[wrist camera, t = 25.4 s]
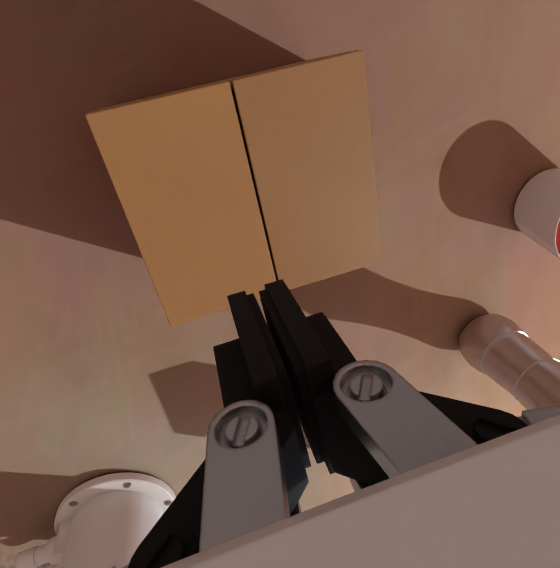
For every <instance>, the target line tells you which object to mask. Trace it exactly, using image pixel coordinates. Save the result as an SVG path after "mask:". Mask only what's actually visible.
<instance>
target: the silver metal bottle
mask: <svg viewBox="0 0 560 568" xmlns="http://www.w3.org/2000/svg"><path fill="white" fill-rule="evenodd" d="M459 345H460V352H461V354H462V355H463V357H464V358H465V359H466V361H467V362H468V363H469V364H470V365H471V366H472V367H474V368H475V369H477V370H478V371H479V372H481V373H483V374H485V375H487V376H488V377H490V378H491V379H492V380H494V381H495V382H496V383H498V384H499V385H500V386H502V387H503V388H504V389H505V390H507V391H508V392H509V393H511V394H512V395H513V396H514V397H515V398H516V399H517V400H518V401H519V402H520V403H521V404H522V405H523V406H524V407H525V408H526V409H527V410H531V409H538V408H545V407H552V406H559V405H560V361H559V360H557V359H555V358H554V357H552V356H551V355H550V354H548V353H547V352H546V351H545V350H544V349H542V348H541V347H540V346H539V345H538V344H536V343H535V342H534V341H533V340H532V339H531V338H529V337H528V335H527V334H526V333H525V332H524V331H523V330H522V329H521V328H520V327H519V326H518V325H517V324H516V323H515V322H514V321H512V320H510V319H508V318H506V317H503V316H501V315H498V314H488V315H482V316H479V317H477V318H475V319H474V320H472V321H471V322H470V323H469V324H468V325H467V326H466V327H465V328H464V330H463V331H462V333H461V336H460V340H459Z"/></svg>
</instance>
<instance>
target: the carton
mask: <svg viewBox="0 0 560 568" xmlns="http://www.w3.org/2000/svg"><path fill="white" fill-rule="evenodd" d="M227 81H229V83H230V87H231V91H232V96H233V100H234V104H235V108H236V113H237V117H238V121H239V125H240V130H241V134H242V138H243V142H244V147H245V151H246V155H247V159H248V164H249V168H250V172H251V176H252V181H253V185H254V189H255V193H256V198H257V202H258V206H259V210H260V215H261V219H262V223H263V227H264V232H265V236H266V240H267V244H268V249H269V253H270V257H271V261H272V266H273V270H274V274H275V278H276V281H278V280H281V279H283V281H284V282H285V284H286V285H287V287H288V289H289V290H291V289H294V288H297V287H301V286H304V285H307V284H310V283H314V282H317V281H320V280H323V279H327V278H330V277H333V276H336V275H340V274H343V273H346V272H349V271H353V270H356V269H359V268H362V267H366V266H369V265H372V264H375V263H379V262H382V254H381V242H380V231H379V219H378V208H377V196H376V185H375V173H374V162H373V150H372V139H371V128H370V116H369V105H368V93H367V82H366V70H365V59H364V50H360V51H359V50H354V51H349V52H345V53H340V54H335V55H330V56H325V57H320V58H315V59H310V60H305V61H301V62H297V63H292V64H288V65H284V66H280V67H275V68H271V69H267V70H262V71H258V72H254V73H249V74H245V75H241V76H236V77H232V78H228V79H224V80H219V81H215V82H211V83H206V84H202V85H198V86H193V87H189V88H185V89H181V90H176V91H172V92H168V93H163V94H159V95H155V96H150V97H146V98H142V99H137V100H133V101H129V102H125V103H120V104H116V105H112V106H108V107H105V108H101V109H98V110H95V111H91V112H88V113H86V114H90V113H94V112H98V111H103V110H107V109H111V108H116V107H120V106H124V105H128V104H133V103H137V102H141V101H146V100H150V99H154V98H158V97H163V96H167V95H171V94H176V93H180V92H184V91H188V90H193V89H197V88H201V87H206V86H210V85H214V84H218V83H223V82H227Z"/></svg>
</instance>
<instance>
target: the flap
mask: <svg viewBox="0 0 560 568" xmlns="http://www.w3.org/2000/svg"><path fill="white" fill-rule="evenodd" d="M85 116H86V119H87V121H88V124H89V126H90V129H91V131H92V134H93V136H94V139H95V141H96V144H97V146H98V148H99V151H100V153H101V156H102V158H103V161H104V163H105V166H106V168H107V171H108V173H109V176H110V178H111V181H112V183H113V185H114V188H115V190H116V193H117V195H118V198H119V200H120V203H121V205H122V208H123V210H124V213H125V215H126V218H127V220H128V222H129V225H130V227H131V230H132V232H133V235H134V237H135V240H136V242H137V245H138V247H139V250H140V252H141V254H142V257H143V259H144V262H145V264H146V267H147V269H148V272H149V274H150V277H151V279H152V282H153V284H154V287H155V289H156V291H157V294H158V296H159V299H160V301H161V304H162V306H163V309H164V311H165V314H166V316H167V319H168V321H169V323H170V326H174V325H177V324H181V323H184V322H187V321H190V320H193V319H197V318H200V317H203V316H206V315H209V314H213V313H216V312H219V311H222V310H225V309H229V308H230V305H229V302H228V298H227V296H228V295H232V294H235V293H238V292H241V291H245V292H246V295H248V294H252V293H254V295H255V298H256V300H257V299H260V295H259V291H262V290H265V286H264V285H265V284H268V283H271V282H274V281H276V278H275V274H274V270H273V266H272V261H271V257H270V253H269V249H268V244H267V240H266V236H265V232H264V227H263V223H262V219H261V215H260V210H259V206H258V202H257V198H256V193H255V189H254V185H253V181H252V176H251V172H250V168H249V164H248V159H247V155H246V151H245V147H244V142H243V138H242V134H241V130H240V125H239V121H238V117H237V113H236V108H235V104H234V100H233V96H232V91H231V87H230V83H229V81H227V82H223V83H218V84H214V85H210V86H206V87H201V88H197V89H193V90H188V91H184V92H180V93H176V94H171V95H167V96H163V97H158V98H154V99H150V100H146V101H141V102H137V103H133V104H128V105H124V106H120V107H116V108H111V109H107V110H103V111H98V112H94V113H90V114H86V115H85Z"/></svg>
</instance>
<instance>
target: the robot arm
mask: <svg viewBox="0 0 560 568" xmlns="http://www.w3.org/2000/svg"><path fill="white" fill-rule="evenodd" d="M264 286H265V290H262V291H259V295H260V299H261V302H262V306H263V310H264V314H265V318H266V321H267V324H266V321H265V319H264V317H263V314H262V312H261V310H260V307H259V305H258V303H257V300H256V298H255V295H254V293H252V294H248V295H246V292H245V291H241V292H238V293H235V294H232V295H228V296H227V298H228V302H229V305H230V308H231V312H232V315H233V319H234V322H235V326H236V329H237V332H238V336H239V339H236V340H233V341H230V342H227V343H223V344H220V345H217V346H214V354H215V360H216V365H217V371H218V376H219V382H220V387H221V393H222V398H223V404H224V408H223V409H222V410H221V411H220V412H219V413H218V414H217V415H216V416H215V417H214V418H213V420H212V421H211V423H210V425H209V429H208V432H207V445H206V459H205V460H204V462H203V463H202V464H201V466H200V467H199V468H198V469H197V471H196V472H195V473H194V475H193V476H192V477H191V479H190V480H189V481H188V482H187V484H186V485H185V486H184V488H183V489H182V490H181V491H180V493H179V494H178V495H177V497H176V496H175V494H174V492H173V491H172V489H171V488H170V487H169V486H168V485H167V484H165V483H164V482H163V481H161V480H159V479H157V478H155V477H153V476H149V475H145V474H141V473H132V472H128V473H114V474H107V475H104V476H100V477H97V478H94V479H92V480H89V481H87V482H85V483H83V484H81V485H80V486H78V487H76V488H75V489H73V490H72V491H71V492H70V493H69V494H68V495H66V497H65V498H64V499H63V500H62V502H61V503H60V505H59V507H58V509H57V513H56V517H55V521H54V530H55V533H56V536H54V537H52V538H50V539H49V540H48V543H47V544H44V545H41V546H36V547H33V548H30V549H28V550H25V551H22V552H19V553H18V555H17V556H16V559H15V568H38V567H39V566H41V565H42V567H41V568H560V405H559V406H552V407H545V408H538V409H531V410H524V411H522V416H521V417H516V416H514V415H513V414H510V413H507V412H504V411H501V410H498V409H493V408H489V407H485V406H480V405H476V404H472V403H467V402H463V401H459V400H454V399H450V398H446V397H441V396H437V395H433V394H428V393H424V392H419V391H417V390H416V389H415V388H414V387H413V386H412V385H411V384H409V383H408V382H407V381H406V380H405V379H404V378H403V377H402V376H400V375H399V374H398V373H397V372H396V371H395V370H394V369H393V368H391V367H389V366H388V365H386V364H384V363H381V362H378V361H371V360H363V361H356V359H355V358H354V356H353V355H352V353H351V352H350V351H349V349H348V348H347V346H346V345H345V343H344V342H343V341H342V339H341V338H340V336H339V335H338V333H337V332H336V331H335V329H334V328H333V326H332V325H331V323H330V322H329V321H328V319H327V318H326V316H325V315H324V314H323V313H322V312H320V313H317V314H314V315H311V316H308V317H305V315H304V313H303V312H302V310H301V308H300V307H299V305H298V303H297V302H296V300H295V299H294V297H293V295H292V294H291V292H290V290H289V289H288V287H287V285H286V284H285V282H284V281H283V279H281V280H278V281H274V282H271V283H268V284H265V285H264ZM267 325H268V326H267ZM300 422H301V424H300ZM301 425H302V427H303V430H304V432H305V435H306V437H307V440H308V442H309V445H310V447H311V450H312V452H313V455H314V457H315V460H316V462H317V464H318V463H321V462H324V461H325V463H326V465H327V468H328V470H329V473H330V474H332V473H335V472H336V473H338V474H341V475H344V476H346V477H349V478H350V482H351V484H352V486H353V488H354V490H355V492H353V493H351V494H348V495H346V496H343V497H340V498H338V499H335V500H333V501H330V502H328V503H325V504H322V505H320V506H317V507H315V508H312V509H309V510H307V511H304V512H301V507H300V504H299V499H300V497H301V495H302V493H303V491H304V489H305V488H306V486H307V484H308V482H309V481H308V478H307V474H306V470H305V468H307V467H310V466H311V464H310V460H309V456H308V452H307V448H306V444H305V440H304V436H303V432H302V428H301Z"/></svg>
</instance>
